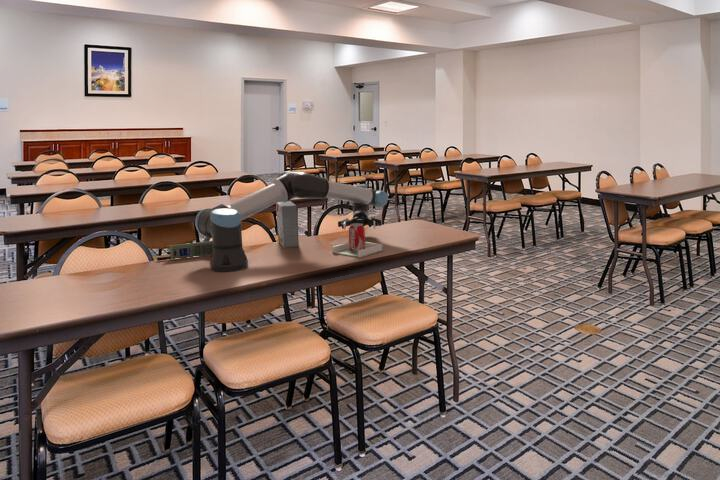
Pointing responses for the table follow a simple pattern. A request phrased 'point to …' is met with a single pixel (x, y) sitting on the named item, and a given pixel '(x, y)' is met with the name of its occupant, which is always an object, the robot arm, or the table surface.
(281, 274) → the table surface
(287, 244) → the hard drive box
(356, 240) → the soda can
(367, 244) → the box
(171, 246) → the handheld radio
